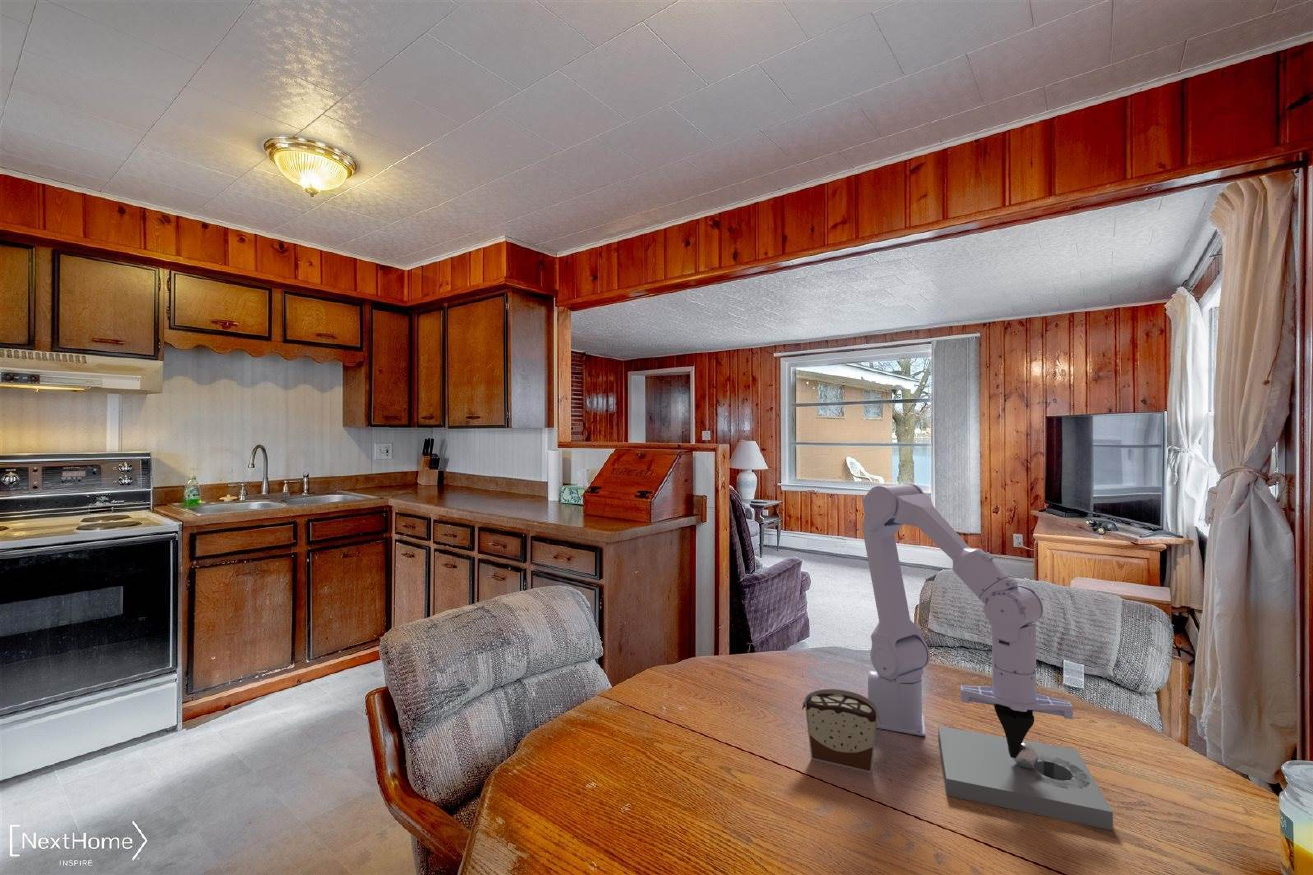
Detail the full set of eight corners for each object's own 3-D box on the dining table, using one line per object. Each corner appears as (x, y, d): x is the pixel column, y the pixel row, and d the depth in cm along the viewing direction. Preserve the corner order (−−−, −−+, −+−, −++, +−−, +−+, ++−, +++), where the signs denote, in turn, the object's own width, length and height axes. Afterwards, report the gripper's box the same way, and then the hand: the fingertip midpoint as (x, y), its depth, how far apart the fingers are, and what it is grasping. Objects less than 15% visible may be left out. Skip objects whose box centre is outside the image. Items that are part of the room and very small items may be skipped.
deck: (946, 795, 84) (946, 778, 84) (938, 740, 98) (938, 726, 98) (1112, 830, 76) (1112, 812, 76) (1077, 765, 91) (1076, 749, 91)
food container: (883, 754, 94) (883, 695, 94) (881, 775, 89) (881, 712, 89) (808, 738, 99) (808, 682, 99) (802, 757, 94) (801, 697, 94)
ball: (1022, 744, 85) (1044, 762, 84) (1019, 732, 88) (1041, 750, 87) (1006, 759, 86) (1029, 777, 85) (1004, 747, 89) (1025, 765, 88)
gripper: (963, 669, 86) (964, 758, 86) (1078, 685, 80) (1079, 780, 80) (958, 653, 92) (959, 735, 92) (1065, 666, 87) (1065, 754, 87)
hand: (1014, 755), depth 87 cm, fingers closed, pressing on ball
